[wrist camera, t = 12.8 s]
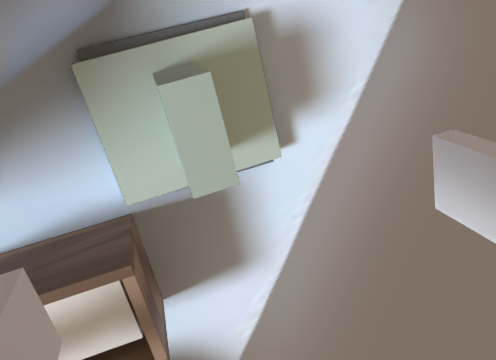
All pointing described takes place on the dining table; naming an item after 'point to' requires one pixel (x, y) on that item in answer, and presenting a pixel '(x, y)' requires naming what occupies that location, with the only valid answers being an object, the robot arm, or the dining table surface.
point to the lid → (182, 111)
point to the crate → (97, 292)
